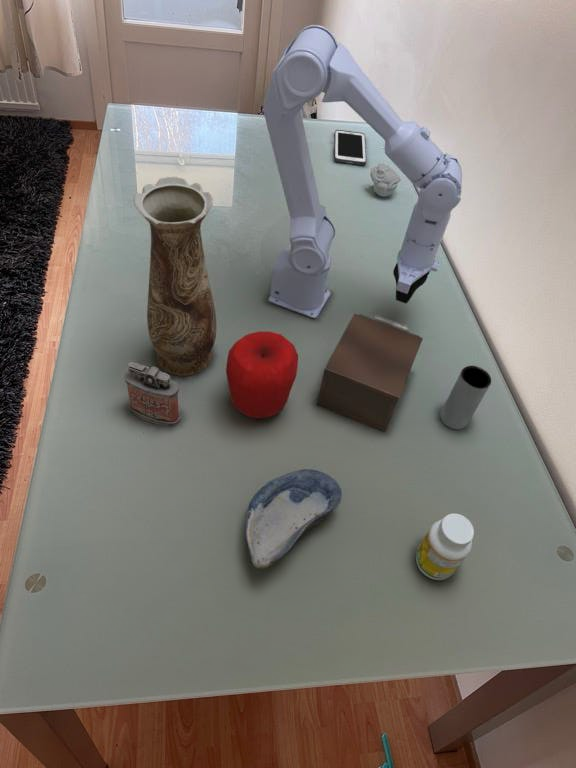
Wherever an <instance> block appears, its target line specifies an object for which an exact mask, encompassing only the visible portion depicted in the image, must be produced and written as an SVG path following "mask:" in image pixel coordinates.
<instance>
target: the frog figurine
mask: <svg viewBox="0 0 576 768" xmlns="http://www.w3.org/2000/svg"><path fill="white" fill-rule="evenodd" d="M369 175H370V178H371V181H372V182H373V185H372V186H373V190H374V192H375V193H376V195H378V196H379V197H384V198H385V197H388V196H391V195H392V194H393V193H394V192H395V190H397V187H398V183H400V182H401V181H402V180H401V177H400V175H399V173H397V172H396V171H395V170H394V169H392V168H391V167H390V165H388V164H385V163H384V162H380V163H378V165H376V166H374V167H371V169H370V174H369Z"/></svg>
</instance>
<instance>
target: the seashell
mask: <svg viewBox="0 0 576 768" xmlns="http://www.w3.org/2000/svg"><path fill="white" fill-rule="evenodd" d="M342 496H343V491H342V488H341V487H340V485H339V483H338V482H337V480H335V478H333V477H332V476H330V475H329V474H327V473H325V472H323V471H321V470H316V469H309V468H308V469H306V468H304V469H297V470H294V471H291V472H288V473H285V474H283V475H281V476H278V477H275V478H274V479H272V480H270V481H268V482H267V483H266V484H265V485H263V486H262V487H261V488H259V490H258V491H257V492H256V493H255V494H254V496H253V497H252V498H251V500H250V502H249V504H248V508H247V512H246V521H245V539H246V542H247V543H246V544H247V546H248V550H249V555H250V560H251V562H252V565H253V566H254V567H255V568H257V569H265V568H268V567H270V566H271V565H273V564H274V563H276V561H278V560H279V559H281V558H282V557H283V556H284V555H285V554H286V553H288V552H289V551H290V550H291V549H292V548H293V546H294V545H295V543H296V542H297V541H298V539H299V538H300V536H302V535H304V534H305V533H306V532H308V531H309V530H310V529H311V528H313V527H314V526H315V525H317V524H318V523H319V522H321V521H322V520H323V519H325V517H327V516H328V515H329V514H330V513H331V512H332V511H334V510H335V509H336V508H338V506H339V505H340V503H341V501H342Z"/></svg>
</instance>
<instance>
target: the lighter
mask: <svg viewBox="0 0 576 768" xmlns="http://www.w3.org/2000/svg"><path fill="white" fill-rule="evenodd" d="M170 377H171V376H170V374H168V373H167V372H162V370H160V368H159V367H157V366H153V365H152V366H151V367H149V366H145V365H142V364H139V363H137V362H135V361H134V362H133V361H131V362H129V363H128V364H127V371H126V372H125V373H124V382H125V384H126V387H127V388H126V389H127V393H128V399H129V400H128V401H129V404H128V407H129V411H130V413H131V414H133V415H135V416H137V417H139V419H142V420H144V421H147V422H149V423H153V424H155V425H160V426H166V427H175V426H177V425H178V424H179V423H180V422H181V412H180V409H179V407H180V406H179V391H180V387H179V384H178V382H176V381H175V380H173V379H171V378H170Z"/></svg>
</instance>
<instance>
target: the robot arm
mask: <svg viewBox="0 0 576 768" xmlns="http://www.w3.org/2000/svg"><path fill="white" fill-rule="evenodd" d="M271 75H272V76H271V79H270V82H269V84H268V87H267V91H266V94H265V98H264V100H263V103H262V112H263V115H264V116H263V117H264V119H265V124H266V128H267V132H268V135H269V139H270V143H271V148H272V151H273V155H274V159H275V162H276V163H275V164H276V166H277V171H278V174H279V175H278V176H279V179H280V183H281V186H282V187H281V188H282V191H283V194H284V198H285V202H286V205H287V210H288V214H289V218H290V220H289V221H290V222H289V235H288V236H289V237H288V238H289V243H290V249H288V248H283V249H282V250H281V251H280V252H279V254H278V255H277V257H276V260H275V262H274V266H273V269H272V276H271V286H270V296H268V297H269V298H268V302H269V303H271V304H273V305H277V306H280V307H282V308H285V309H288V310H290V311H293V312H295V313H298V314H301V315H304V316H306V317H309V318H312V319H317V318H318V316H319V315H320V313H321V312H322V309H323V308H324V306H325V304H326V303H327V301H328V300H329V298H330V297H331V295H332V292H331V290H328V289H326V288H327V283H328V277H329V273H330V269H331V262H332V259H331V256H330V251H331V246H332V242H333V241H334V238H335V237H336V226H335V224H334V222H333V221H332V220H331V218H330V217H329V215H328V214H327V210H326V206H325V205H323V204H321V202H320V201H321V200H320V196H319V191H318V187H317V186H318V185H317V182H316V177H315V172H314V167H313V164H312V163H313V162H312V157H311V154H310V149H309V144H308V140H307V135H306V130H305V125H304V120H303V116H302V111H301V110H302V109H303V107H304V106H305V105H306V104H309V102H312V101H313V100H315V99H316V98H318V96H320V95H321V94H322V93H324V95H323V97H322V99H321V103H339V102H340V103H341V102H344V103H345V104H346V105H348V106H349V107H350V108H351V109H352V110H353V111H354V112H355V113H356V114H357V115H358V116H359V117H360V118H361V119H362V120H363V121H364V122H365V123H366V124H367V125H368V126H370V128H371V129H372V130H373V131H374V132H376V134H378V135H379V136H380V137H381V138H382V139H383V140H384V155H386V156H387V158H388V159H389V160H390V161H391V162H392V163H393V164H394V165H395V166H396V167H397V168H398V169H399V171H400V172H402V174H403V175H404V176H405V177H406V178H407V179H408V181H410V182H411V183H412V184H413V186H414V187H416V188H417V189H419V191H418V198H417V201H416V203H415V204H414V206H413V209H412V212H411V215H410V218H409V221H408V225H407V228H406V231H405V234H404V238H403V242H402V244H401V247H400V249H399V251H398V253H397V256H396V261H397V262H396V264H395V265H394V267H393V272H392V275H393V277H394V280H395V301H398V302H400V303H403V304H408V303H409V302H410V300H411V299H412V297H413V295H414V294H415V292H416V291H417V290H418V289H419V288H420V287H421V286H423V285H424V284H425V283H426V282H427V279H428V278H429V275H430V272H431V271H432V272H438V271H439V269H440V267H441V262H440V261H439V260H436V257H437V254H438V251H439V248H440V246H441V243H442V242H443V241H442V240H443V238H444V235H445V233H446V229H447V227H448V224H449V222H450V219H451V212H452V211H453V210H454V209H456V207H457V206H458V205H459V204H460V202H461V200H462V198H461V195H462V187H463V186H462V185H463V183H462V182H463V170H462V166H461V164H460V162H459V160H458V158H457V157H455V156H454V155H450V154H449V153H448V152H446V153H443V151H442V150H441V149H440V148H439V147H438V146H437V145H436V143H435V142H434V141H433V140H432V138H430V135H431V130H430V129H429V128H428V127H427V126H426V125H423V126H422V127H421V126H420V125H419V124H418V123H417V122H416V121H413V120H403V119H402V118H400V116H399V115H398V113H397V112H396V111H395V109H394V108H393V107H392V106H391V105H390V104H389V102H388V101H387V99H386V98H385V97H384V95H382V93H381V92H380V91H379V89H378V88H377V87H376V85H375V84H374V83H373V82H372V81H371V79H370V78H369V77H368V76H367V75H366V73H365V72H364V71H363V69H362V68H361V66H360V65H359V64H358V62H357V61H356V59H355V57H354V56H353V55H352V53H351V52H350V50H349V49H348V47H347V46H345V45H344V44H343V43H342V42H339V43H338V41H337V39H336V37H335V35H334V34H333V32H332V31H331V30H329V29H328V28H327V27H325V26H323V25H319V24H311V25H308V26H307V25H306V26H305V27H303V28H302V29H301V30H300V31H299V32H298V33H297V35H295V37H294V38H293V39H292V41H291V42H289V44H288V46H287V47H286V49H285V51H284V53H283V55H282V57H281V59H280V60H279V62H278V63H277V65H276V66H275V67H274V69H273V70H272V73H271Z"/></svg>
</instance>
